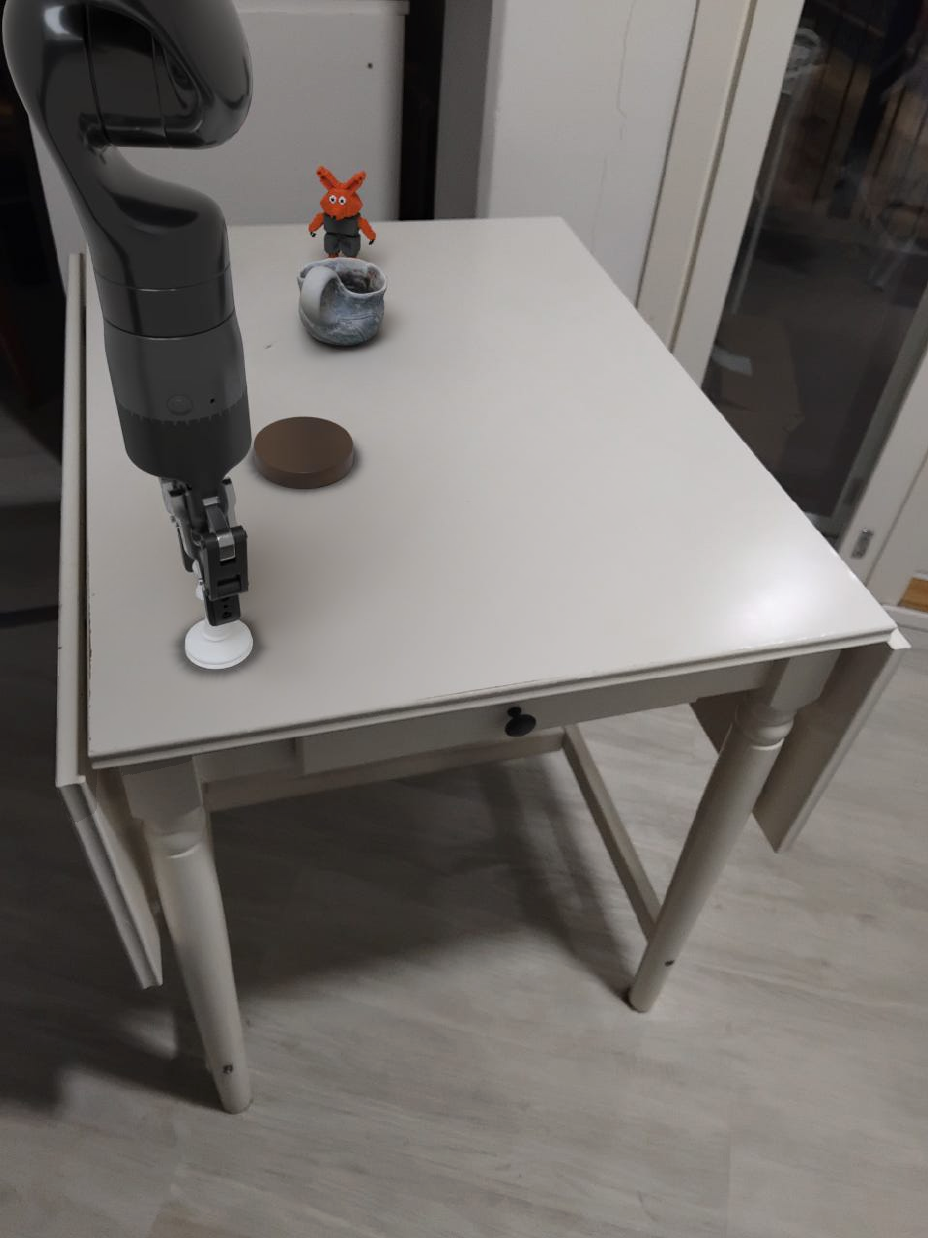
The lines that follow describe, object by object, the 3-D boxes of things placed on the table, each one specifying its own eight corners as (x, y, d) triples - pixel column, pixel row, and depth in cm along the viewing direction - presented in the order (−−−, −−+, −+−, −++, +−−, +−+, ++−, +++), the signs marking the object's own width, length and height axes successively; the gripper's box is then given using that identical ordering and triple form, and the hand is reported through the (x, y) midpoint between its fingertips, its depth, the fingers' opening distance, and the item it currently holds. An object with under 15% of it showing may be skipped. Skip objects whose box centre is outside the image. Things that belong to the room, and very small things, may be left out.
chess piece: (246, 671, 69) (234, 569, 62) (178, 667, 69) (158, 564, 62) (258, 624, 72) (247, 522, 65) (193, 619, 72) (175, 517, 65)
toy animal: (302, 282, 113) (297, 178, 105) (313, 263, 117) (309, 161, 109) (368, 291, 113) (369, 187, 104) (376, 271, 117) (378, 170, 108)
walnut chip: (273, 497, 83) (272, 481, 82) (242, 443, 89) (240, 426, 88) (368, 476, 87) (368, 460, 86) (332, 424, 92) (331, 408, 91)
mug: (394, 323, 108) (397, 236, 101) (369, 379, 99) (370, 287, 92) (312, 310, 108) (309, 223, 101) (279, 365, 99) (273, 273, 92)
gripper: (283, 433, 52) (297, 646, 64) (208, 314, 61) (233, 520, 72) (144, 461, 49) (186, 678, 61) (87, 332, 58) (133, 544, 70)
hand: (211, 591), depth 67 cm, fingers open, 5 cm apart
